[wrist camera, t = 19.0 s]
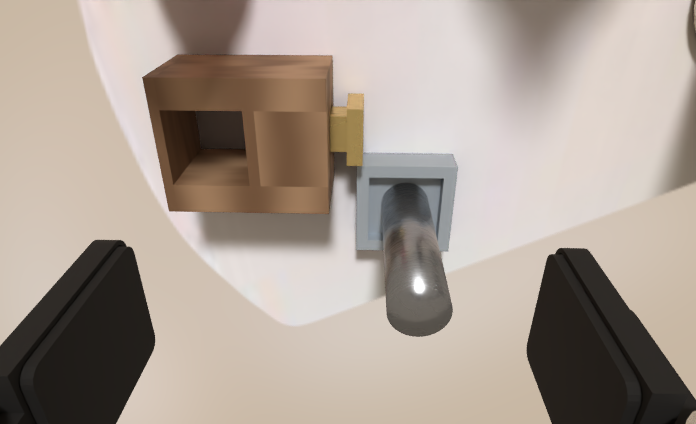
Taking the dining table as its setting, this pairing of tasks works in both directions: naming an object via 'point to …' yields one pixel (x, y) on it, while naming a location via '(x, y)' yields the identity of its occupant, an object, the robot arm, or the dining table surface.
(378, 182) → the grey square tray
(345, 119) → the tan wooden t-shaped piece
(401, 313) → the grey cylinder
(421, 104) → the dining table surface
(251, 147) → the socket block
